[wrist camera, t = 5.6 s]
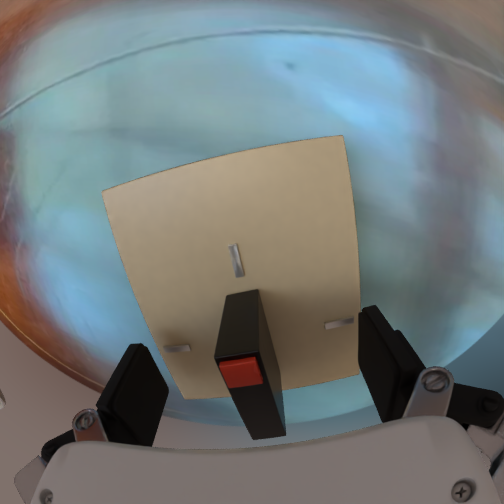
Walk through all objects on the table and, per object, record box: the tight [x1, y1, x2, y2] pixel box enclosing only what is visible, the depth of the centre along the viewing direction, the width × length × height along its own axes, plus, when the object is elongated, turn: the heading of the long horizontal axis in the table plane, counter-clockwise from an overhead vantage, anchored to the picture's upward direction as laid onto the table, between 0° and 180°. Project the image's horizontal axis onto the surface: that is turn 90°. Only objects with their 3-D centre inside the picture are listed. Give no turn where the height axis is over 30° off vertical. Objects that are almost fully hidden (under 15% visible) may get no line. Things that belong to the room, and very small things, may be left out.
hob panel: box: [101, 135, 361, 399], centre depth 13 cm, size 13×10×3 cm
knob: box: [214, 289, 286, 440], centre depth 10 cm, size 5×1×4 cm, turn 14°
